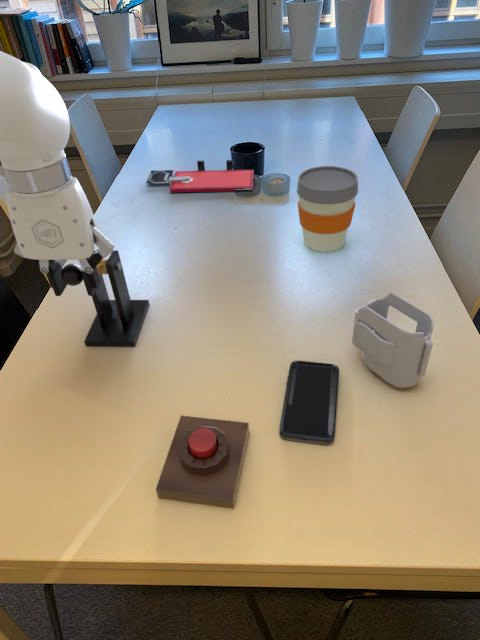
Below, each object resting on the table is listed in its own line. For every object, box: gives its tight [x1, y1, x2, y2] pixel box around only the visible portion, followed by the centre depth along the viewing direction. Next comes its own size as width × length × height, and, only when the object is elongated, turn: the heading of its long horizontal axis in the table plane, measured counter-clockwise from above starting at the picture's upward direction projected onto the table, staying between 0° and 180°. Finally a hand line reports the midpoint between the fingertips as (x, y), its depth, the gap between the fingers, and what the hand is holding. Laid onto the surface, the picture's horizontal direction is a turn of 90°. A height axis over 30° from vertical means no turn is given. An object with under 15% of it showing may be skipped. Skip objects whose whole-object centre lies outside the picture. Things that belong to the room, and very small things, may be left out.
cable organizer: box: [351, 291, 435, 388], centre depth 75 cm, size 7×12×12 cm, turn 35°
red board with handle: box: [145, 159, 255, 193], centre depth 137 cm, size 30×3×15 cm
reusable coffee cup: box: [296, 165, 359, 253], centre depth 105 cm, size 12×13×15 cm
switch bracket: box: [83, 250, 150, 348], centre depth 87 cm, size 12×9×15 cm
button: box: [189, 429, 217, 459], centre depth 64 cm, size 4×4×2 cm
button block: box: [155, 415, 250, 510], centre depth 66 cm, size 12×10×4 cm
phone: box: [278, 360, 340, 446], centre depth 74 cm, size 8×1×15 cm
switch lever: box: [61, 258, 109, 287], centre depth 77 cm, size 15×3×3 cm, turn 176°
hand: (77, 289), depth 73 cm, fingers open, 4 cm apart
